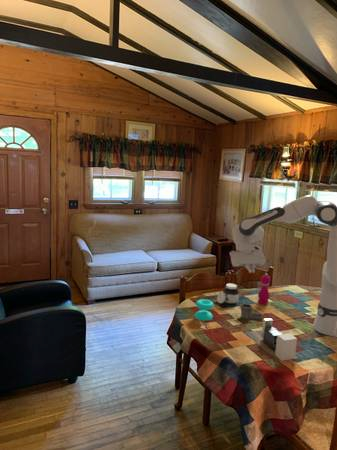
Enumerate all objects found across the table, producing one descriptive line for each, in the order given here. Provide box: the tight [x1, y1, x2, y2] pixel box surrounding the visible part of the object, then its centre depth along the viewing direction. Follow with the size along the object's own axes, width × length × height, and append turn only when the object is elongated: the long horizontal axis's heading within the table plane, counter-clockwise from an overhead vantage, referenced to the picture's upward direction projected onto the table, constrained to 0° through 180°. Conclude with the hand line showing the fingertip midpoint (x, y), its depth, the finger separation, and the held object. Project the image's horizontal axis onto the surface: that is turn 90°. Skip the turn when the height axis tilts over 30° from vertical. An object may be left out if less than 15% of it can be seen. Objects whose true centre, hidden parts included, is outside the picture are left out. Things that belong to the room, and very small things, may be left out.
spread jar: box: [216, 283, 240, 306], centre depth 219 cm, size 12×11×12 cm
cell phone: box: [199, 323, 210, 331], centre depth 185 cm, size 9×18×1 cm, turn 68°
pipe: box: [239, 303, 263, 321], centre depth 198 cm, size 6×13×8 cm, turn 78°
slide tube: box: [261, 317, 277, 343], centre depth 165 cm, size 4×18×10 cm, turn 18°
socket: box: [275, 333, 298, 362], centre depth 158 cm, size 7×5×10 cm
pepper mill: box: [257, 272, 271, 305], centre depth 222 cm, size 7×7×20 cm
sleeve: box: [263, 326, 283, 350], centre depth 168 cm, size 5×8×8 cm, turn 18°
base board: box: [245, 329, 300, 362], centre depth 170 cm, size 13×28×1 cm, turn 18°
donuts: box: [194, 298, 215, 322], centre depth 195 cm, size 10×10×10 cm
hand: (252, 272), depth 190 cm, fingers closed
